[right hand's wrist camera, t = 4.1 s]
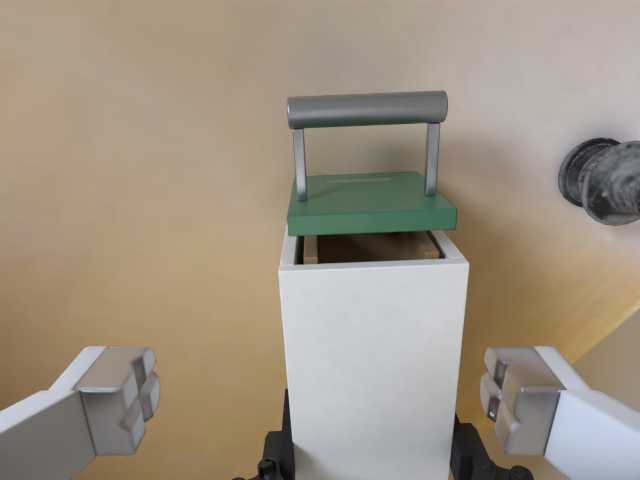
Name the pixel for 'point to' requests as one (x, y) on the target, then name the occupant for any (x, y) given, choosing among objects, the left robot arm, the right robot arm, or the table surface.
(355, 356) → the cabinet
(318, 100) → the drawer
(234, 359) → the table surface
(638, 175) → the dark grey chess piece
